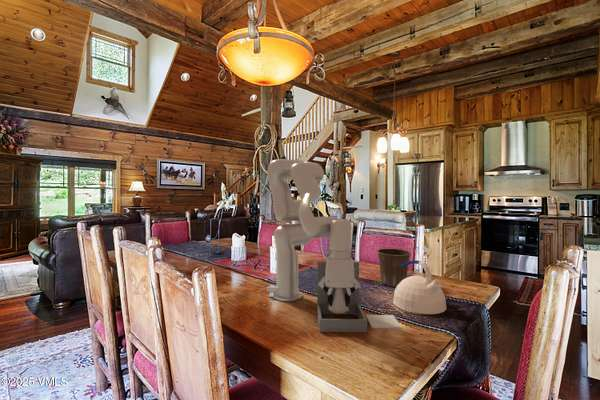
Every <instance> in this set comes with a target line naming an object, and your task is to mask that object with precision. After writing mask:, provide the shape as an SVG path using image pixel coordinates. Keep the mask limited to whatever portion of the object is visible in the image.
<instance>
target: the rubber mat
mask: <svg viewBox="0 0 600 400" xmlns="http://www.w3.org/2000/svg"><path fill="white" fill-rule="evenodd" d="M365 317H366V319H367V323H369V326H370V327H371V329H399V330H400V329H403V328H402V325H401V324H400V323H399V321H398V320H397V318H396V317H395V315H393V314H365Z"/></svg>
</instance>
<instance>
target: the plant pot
mask: <svg viewBox="0 0 600 400" xmlns="http://www.w3.org/2000/svg"><path fill="white" fill-rule="evenodd" d="M376 253H377V255H378V257H377V258H378V260H379V261H378V262H379V273H380V274H379V275H380V283H381V284H382V285H386V287H392V288H393V287H395V288H396V287H397V285H398V284H399V283H400V282H401V281H402V280H404V279H405V278H407V277H408V269H409V265H408V266H406V267H405V268H403V267H401V266H402V265H403V264H404V263H406V262H408V261H410V258H411V255H412V252H411V251H409V250H407V249H400V248H379V249H377V251H376Z"/></svg>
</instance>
